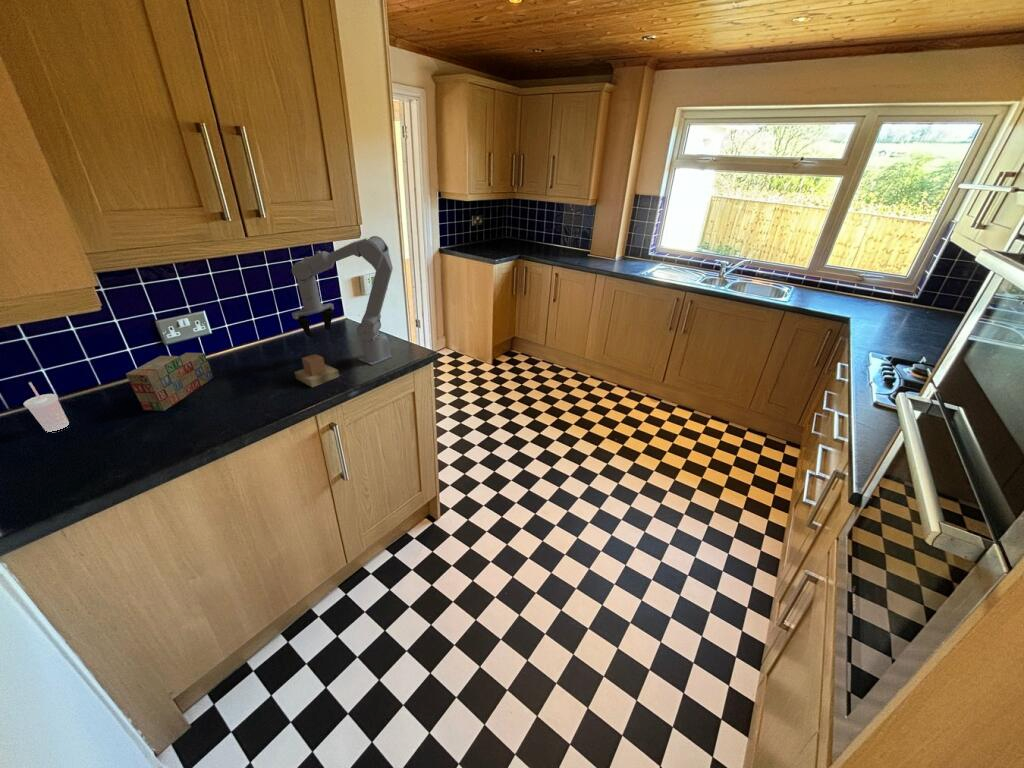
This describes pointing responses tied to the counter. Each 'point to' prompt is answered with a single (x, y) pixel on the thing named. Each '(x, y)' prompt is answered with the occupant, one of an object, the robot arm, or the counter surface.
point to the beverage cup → (47, 411)
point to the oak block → (317, 376)
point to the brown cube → (313, 364)
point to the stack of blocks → (169, 379)
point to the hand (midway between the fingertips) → (318, 332)
